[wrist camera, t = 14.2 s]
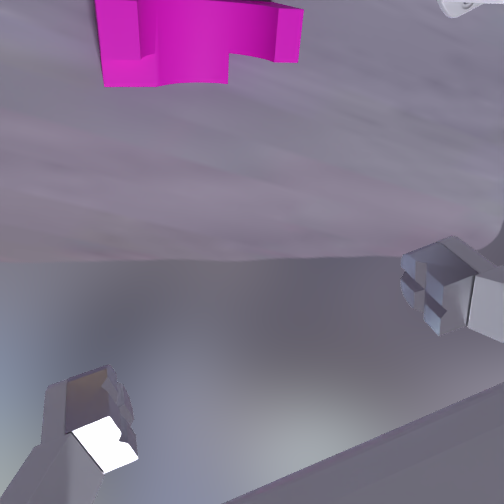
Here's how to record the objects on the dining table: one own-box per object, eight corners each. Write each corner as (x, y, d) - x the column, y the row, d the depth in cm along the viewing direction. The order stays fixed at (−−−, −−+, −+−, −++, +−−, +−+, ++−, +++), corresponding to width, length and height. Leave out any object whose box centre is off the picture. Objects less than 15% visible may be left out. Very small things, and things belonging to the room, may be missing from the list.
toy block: (102, 74, 38) (105, 96, 32) (93, -9, 35) (95, -2, 29) (264, 75, 43) (294, 94, 37) (270, 1, 39) (303, 9, 33)
